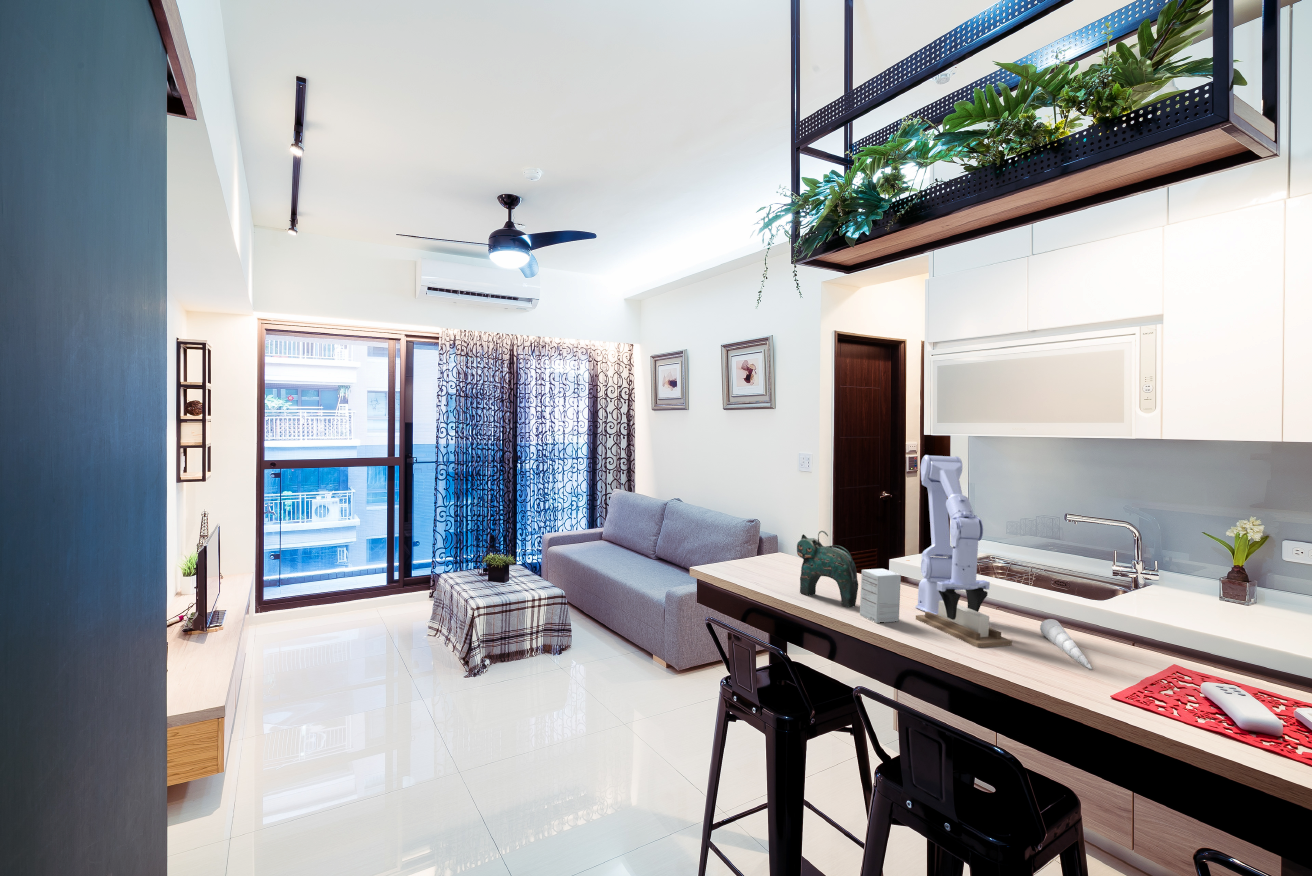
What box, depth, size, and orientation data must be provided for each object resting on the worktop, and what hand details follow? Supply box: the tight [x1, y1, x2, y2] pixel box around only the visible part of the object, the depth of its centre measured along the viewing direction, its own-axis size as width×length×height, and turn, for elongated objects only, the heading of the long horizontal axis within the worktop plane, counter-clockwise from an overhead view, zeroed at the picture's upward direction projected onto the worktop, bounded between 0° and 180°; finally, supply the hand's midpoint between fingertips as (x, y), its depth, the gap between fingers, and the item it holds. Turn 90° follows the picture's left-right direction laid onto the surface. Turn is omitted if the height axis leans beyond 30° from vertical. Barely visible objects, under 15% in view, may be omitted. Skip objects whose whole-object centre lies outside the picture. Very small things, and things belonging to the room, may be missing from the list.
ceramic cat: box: [796, 530, 859, 608], centre depth 188 cm, size 20×6×20 cm, turn 37°
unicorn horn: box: [1039, 618, 1093, 670], centre depth 150 cm, size 5×24×5 cm, turn 164°
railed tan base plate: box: [915, 611, 1013, 648], centre depth 163 cm, size 22×10×2 cm, turn 16°
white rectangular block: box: [938, 601, 990, 637], centre depth 162 cm, size 14×3×5 cm, turn 16°
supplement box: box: [859, 568, 902, 624], centre depth 171 cm, size 7×7×13 cm
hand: (961, 617), depth 163 cm, fingers open, 6 cm apart
